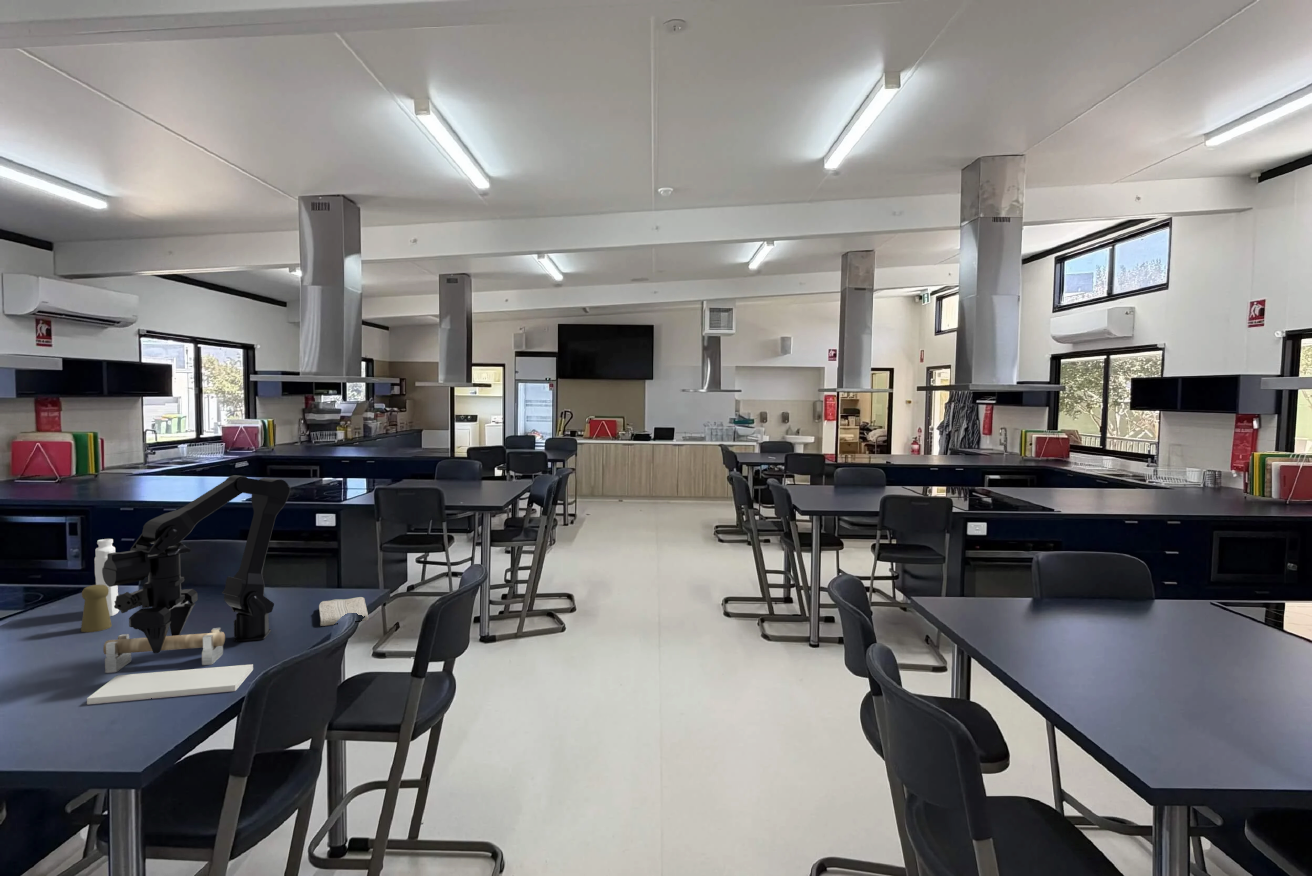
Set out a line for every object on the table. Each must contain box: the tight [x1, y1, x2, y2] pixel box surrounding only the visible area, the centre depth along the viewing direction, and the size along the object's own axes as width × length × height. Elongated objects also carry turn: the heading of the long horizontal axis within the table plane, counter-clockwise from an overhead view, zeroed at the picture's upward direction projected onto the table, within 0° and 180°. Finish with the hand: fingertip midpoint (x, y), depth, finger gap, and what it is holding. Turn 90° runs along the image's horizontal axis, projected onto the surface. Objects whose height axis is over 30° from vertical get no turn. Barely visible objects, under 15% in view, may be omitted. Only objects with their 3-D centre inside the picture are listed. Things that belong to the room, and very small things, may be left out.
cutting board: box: [86, 663, 254, 705], centre depth 135 cm, size 25×11×1 cm, turn 105°
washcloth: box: [318, 596, 370, 627], centre depth 181 cm, size 12×18×3 cm, turn 29°
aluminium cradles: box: [104, 627, 224, 674], centre depth 146 cm, size 20×6×6 cm, turn 105°
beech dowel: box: [102, 631, 226, 656], centre depth 146 cm, size 22×3×3 cm, turn 105°
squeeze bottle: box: [94, 538, 120, 617], centre depth 180 cm, size 10×20×5 cm
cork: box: [80, 584, 112, 633], centre depth 168 cm, size 6×6×11 cm
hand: (166, 645), depth 146 cm, fingers open, 9 cm apart
